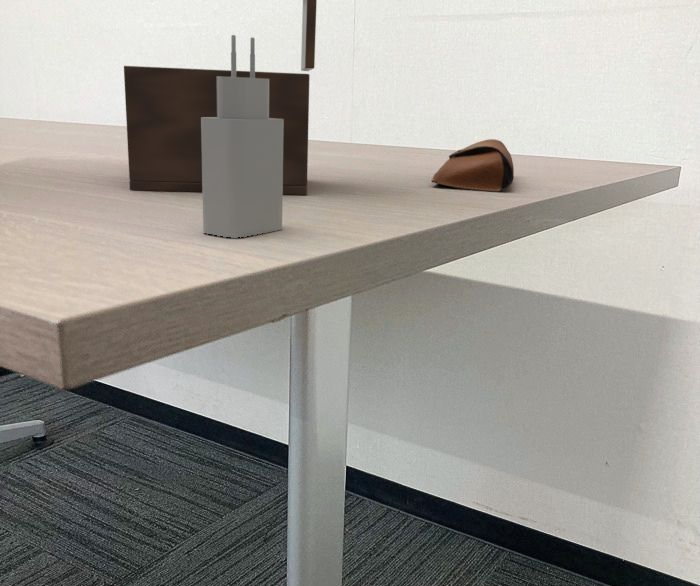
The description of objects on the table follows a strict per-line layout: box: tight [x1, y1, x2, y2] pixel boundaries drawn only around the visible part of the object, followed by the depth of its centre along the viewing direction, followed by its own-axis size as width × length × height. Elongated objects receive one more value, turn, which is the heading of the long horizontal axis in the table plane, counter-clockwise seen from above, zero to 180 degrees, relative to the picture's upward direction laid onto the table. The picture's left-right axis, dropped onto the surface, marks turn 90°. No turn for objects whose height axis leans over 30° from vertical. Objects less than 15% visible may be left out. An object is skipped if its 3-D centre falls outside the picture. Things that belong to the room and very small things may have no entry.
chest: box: [123, 65, 311, 196], centre depth 73 cm, size 16×13×10 cm
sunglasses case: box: [431, 138, 515, 193], centre depth 86 cm, size 18×7×7 cm, turn 170°
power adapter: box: [201, 34, 284, 239], centre depth 49 cm, size 3×5×12 cm, turn 148°
